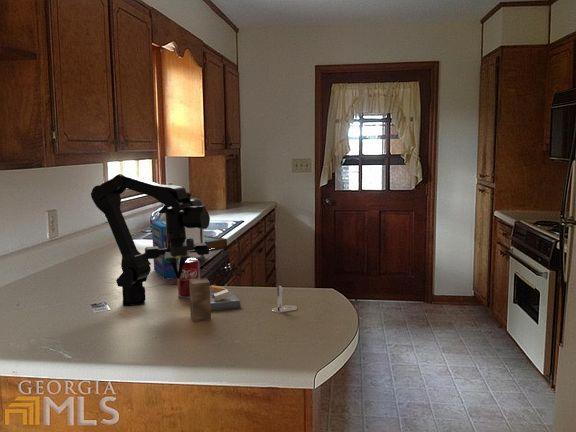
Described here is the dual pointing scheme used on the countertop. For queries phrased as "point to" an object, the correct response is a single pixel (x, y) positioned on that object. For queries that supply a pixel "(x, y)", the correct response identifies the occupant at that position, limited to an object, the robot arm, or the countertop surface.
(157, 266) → the box
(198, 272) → the soda can
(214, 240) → the book
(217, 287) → the wooden block
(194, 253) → the coffee press
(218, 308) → the panel
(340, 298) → the countertop surface
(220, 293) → the beige rectangular slab
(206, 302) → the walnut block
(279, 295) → the stand
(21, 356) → the countertop surface
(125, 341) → the countertop surface
